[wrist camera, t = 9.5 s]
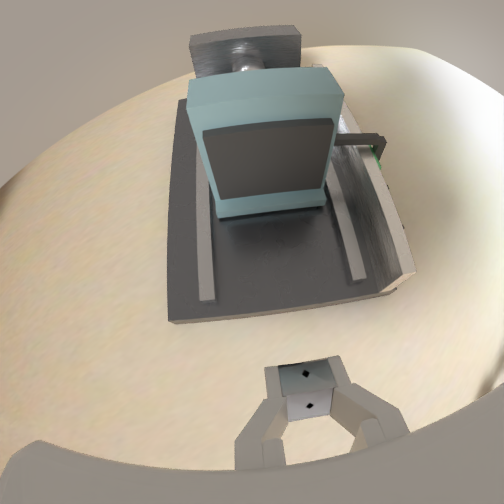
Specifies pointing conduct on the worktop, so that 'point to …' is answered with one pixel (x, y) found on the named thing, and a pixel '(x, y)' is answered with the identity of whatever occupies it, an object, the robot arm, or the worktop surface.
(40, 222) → the worktop surface
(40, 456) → the robot arm
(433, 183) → the worktop surface
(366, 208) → the frame
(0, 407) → the worktop surface
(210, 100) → the gauge slider
